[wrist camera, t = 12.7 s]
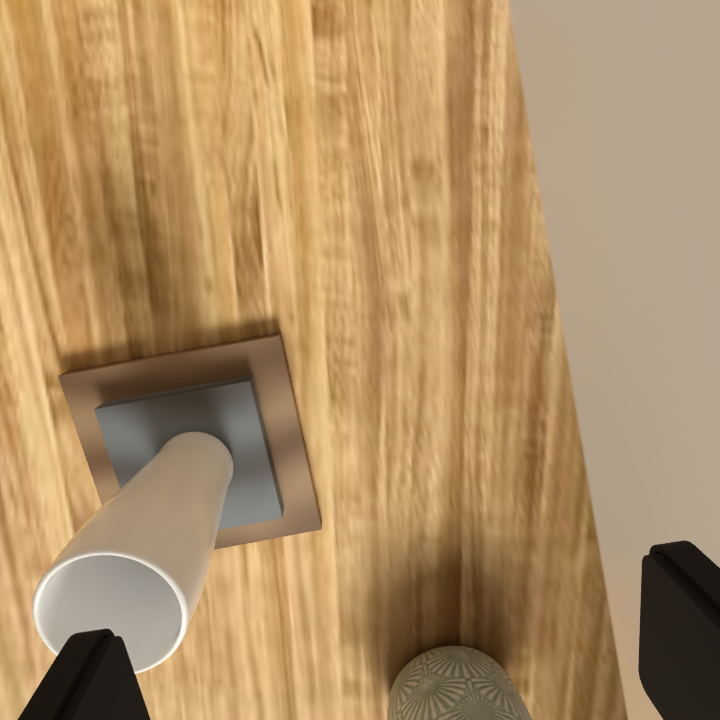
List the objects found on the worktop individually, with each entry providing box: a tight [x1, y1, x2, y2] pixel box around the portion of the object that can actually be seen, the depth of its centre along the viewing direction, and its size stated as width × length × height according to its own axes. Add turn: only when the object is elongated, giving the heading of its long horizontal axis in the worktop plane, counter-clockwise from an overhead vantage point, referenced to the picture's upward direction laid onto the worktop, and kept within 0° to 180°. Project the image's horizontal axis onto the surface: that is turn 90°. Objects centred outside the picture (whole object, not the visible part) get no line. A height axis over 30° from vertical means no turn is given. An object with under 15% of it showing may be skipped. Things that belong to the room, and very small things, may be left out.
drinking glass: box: [32, 431, 233, 674], centre depth 29 cm, size 7×7×15 cm
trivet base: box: [58, 333, 322, 549], centre depth 38 cm, size 16×16×3 cm
